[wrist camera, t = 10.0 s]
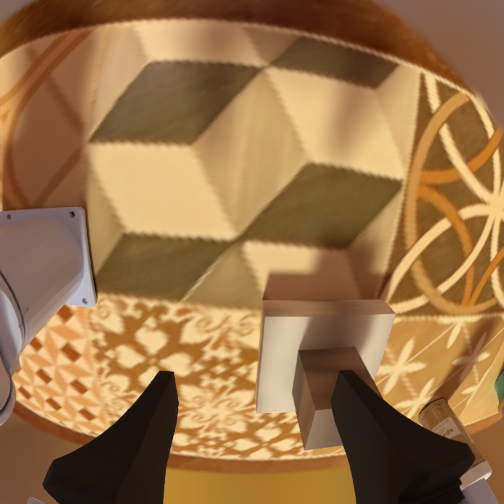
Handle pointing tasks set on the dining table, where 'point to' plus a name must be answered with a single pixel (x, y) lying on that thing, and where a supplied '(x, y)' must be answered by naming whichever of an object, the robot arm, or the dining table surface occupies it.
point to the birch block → (314, 340)
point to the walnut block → (322, 392)
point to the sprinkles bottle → (454, 437)
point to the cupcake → (500, 392)
